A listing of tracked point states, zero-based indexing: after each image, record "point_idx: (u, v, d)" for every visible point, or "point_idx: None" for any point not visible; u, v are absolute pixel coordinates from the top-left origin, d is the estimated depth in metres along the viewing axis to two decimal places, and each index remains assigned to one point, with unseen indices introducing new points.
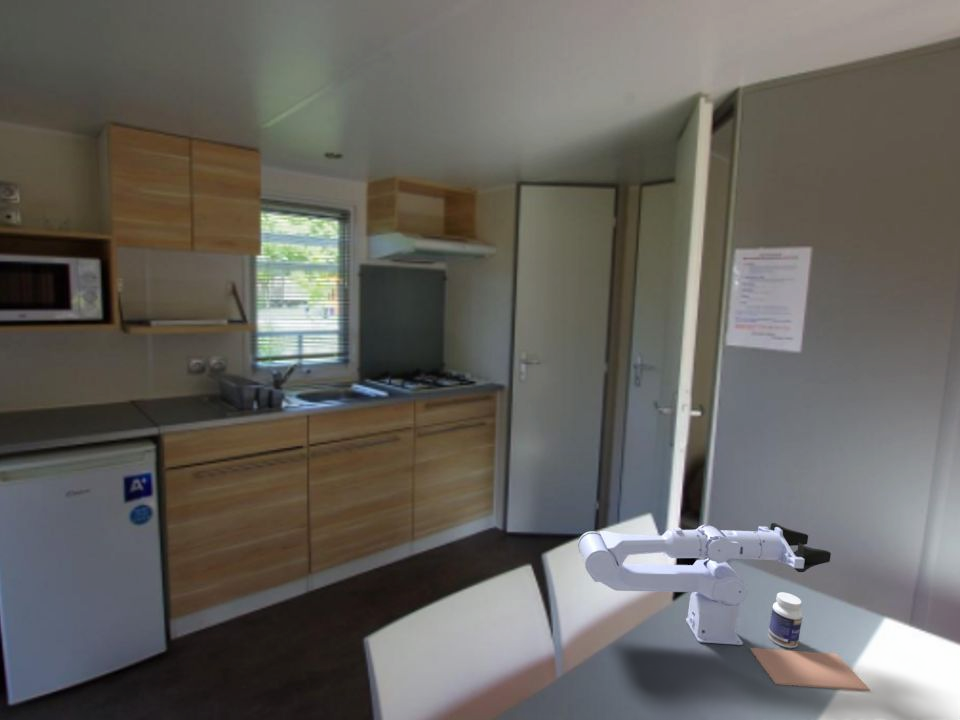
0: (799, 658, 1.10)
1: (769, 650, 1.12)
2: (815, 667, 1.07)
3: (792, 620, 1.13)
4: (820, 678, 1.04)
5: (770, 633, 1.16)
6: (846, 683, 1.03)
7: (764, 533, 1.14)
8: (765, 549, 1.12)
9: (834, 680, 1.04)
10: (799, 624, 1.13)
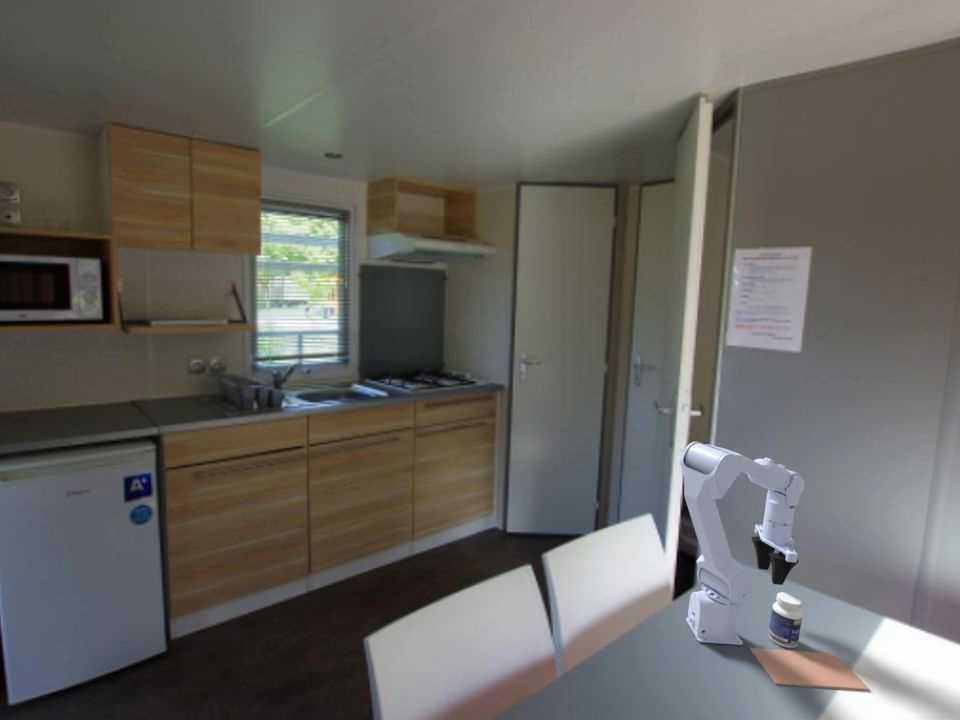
0: (799, 658, 1.10)
1: (769, 650, 1.12)
2: (815, 667, 1.07)
3: (792, 620, 1.13)
4: (820, 678, 1.04)
5: (770, 633, 1.16)
6: (846, 683, 1.03)
7: None
8: (786, 528, 1.19)
9: (834, 680, 1.04)
10: (799, 624, 1.13)
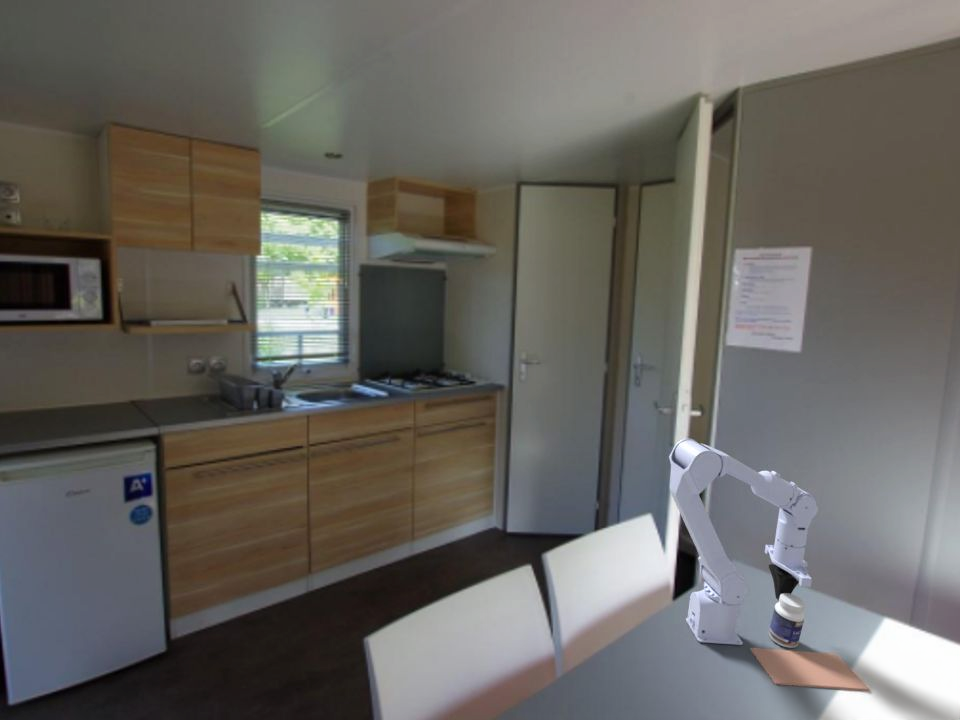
0: (799, 658, 1.10)
1: (769, 650, 1.12)
2: (815, 667, 1.07)
3: (794, 622, 1.12)
4: (820, 678, 1.04)
5: (771, 632, 1.16)
6: (846, 683, 1.03)
7: None
8: (799, 551, 1.13)
9: (834, 680, 1.04)
10: (801, 626, 1.13)
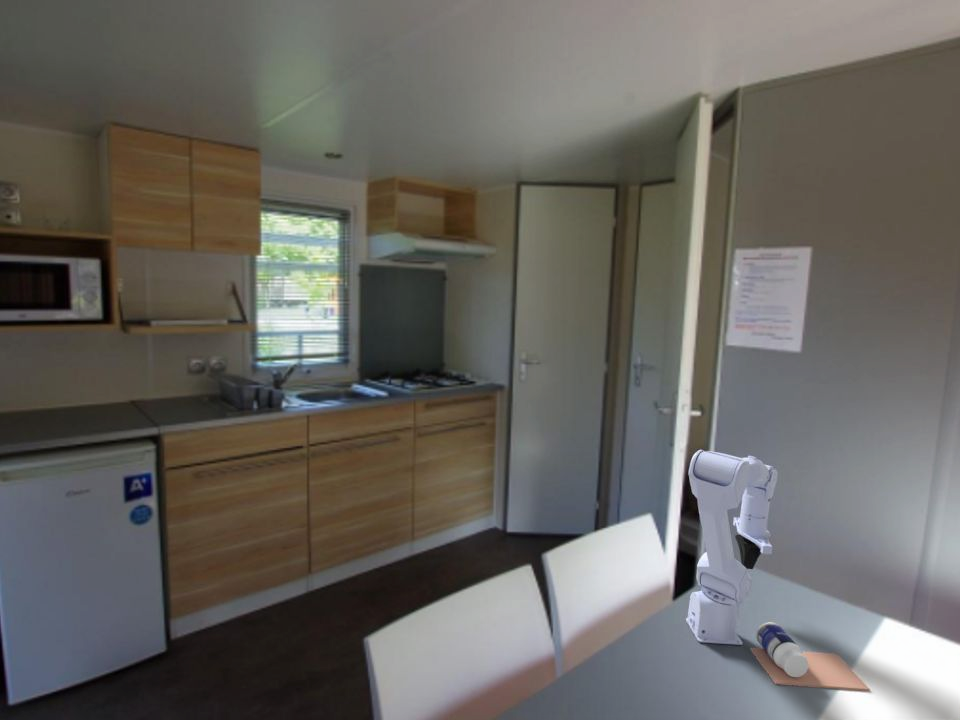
0: None
1: None
2: (815, 667, 1.07)
3: None
4: (820, 678, 1.04)
5: None
6: (846, 683, 1.03)
7: None
8: (762, 521, 1.22)
9: (834, 680, 1.04)
10: (795, 643, 1.07)
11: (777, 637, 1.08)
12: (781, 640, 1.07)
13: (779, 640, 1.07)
